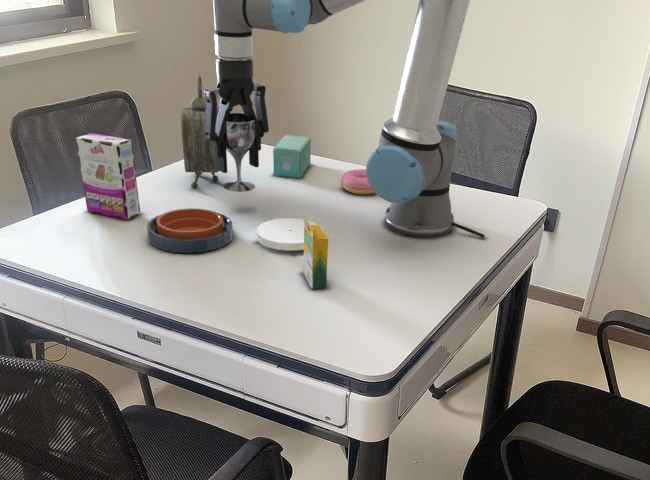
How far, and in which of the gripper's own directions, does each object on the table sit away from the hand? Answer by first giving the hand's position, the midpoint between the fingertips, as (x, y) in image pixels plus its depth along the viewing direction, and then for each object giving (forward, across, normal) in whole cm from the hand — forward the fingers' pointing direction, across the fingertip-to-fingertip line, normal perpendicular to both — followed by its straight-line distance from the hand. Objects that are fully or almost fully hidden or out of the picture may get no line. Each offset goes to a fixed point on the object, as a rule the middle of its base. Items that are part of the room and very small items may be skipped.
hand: (238, 168), depth 161 cm
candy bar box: (+10, +24, -14) cm, 30 cm away
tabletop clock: (+10, -4, -22) cm, 24 cm away
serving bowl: (+10, +17, +8) cm, 21 cm away
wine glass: (+4, 0, 0) cm, 4 cm away
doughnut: (+10, -34, +3) cm, 36 cm away
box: (+10, -28, -19) cm, 35 cm away
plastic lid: (+10, +1, +21) cm, 23 cm away
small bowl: (+10, +17, +8) cm, 21 cm away
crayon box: (+10, +8, +39) cm, 41 cm away
